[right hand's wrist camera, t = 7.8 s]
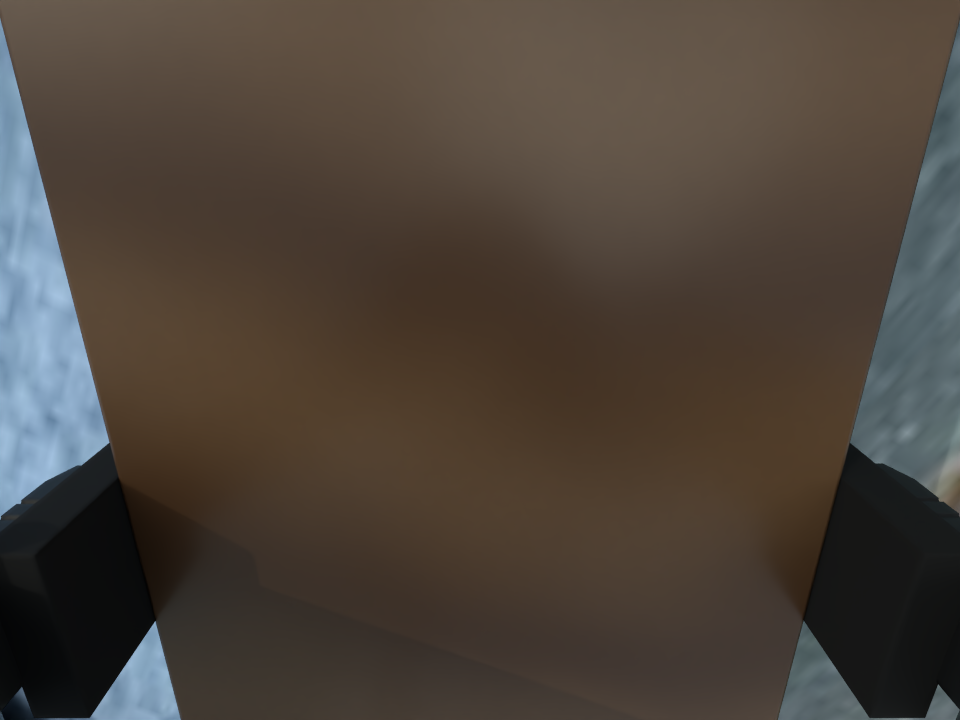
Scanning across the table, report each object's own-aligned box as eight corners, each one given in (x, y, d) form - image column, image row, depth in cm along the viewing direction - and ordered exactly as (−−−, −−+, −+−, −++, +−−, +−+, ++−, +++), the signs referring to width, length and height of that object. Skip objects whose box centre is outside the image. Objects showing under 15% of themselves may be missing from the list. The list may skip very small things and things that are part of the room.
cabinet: (209, -301, 11) (-303, -1142, 4) (751, -301, 11) (1267, -1139, 4) (307, 496, 18) (186, 748, 10) (651, 496, 18) (772, 748, 10)
